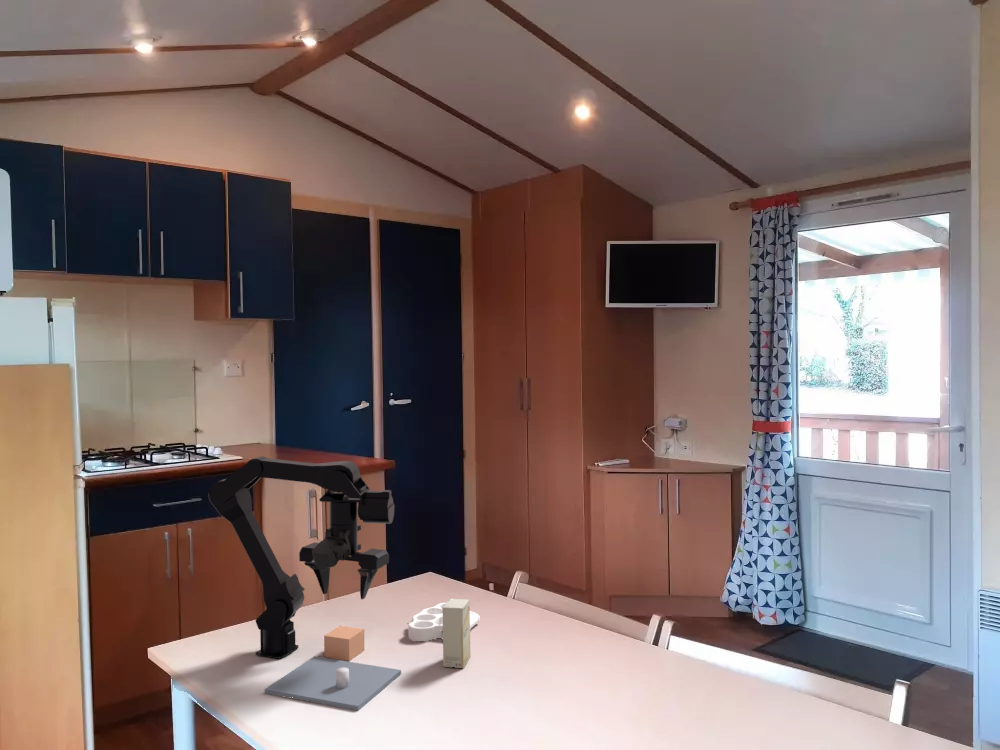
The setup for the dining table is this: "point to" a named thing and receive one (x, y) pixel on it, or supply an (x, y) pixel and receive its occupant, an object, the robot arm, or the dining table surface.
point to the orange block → (344, 643)
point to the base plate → (334, 682)
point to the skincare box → (456, 633)
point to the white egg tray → (432, 623)
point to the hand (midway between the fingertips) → (343, 596)
